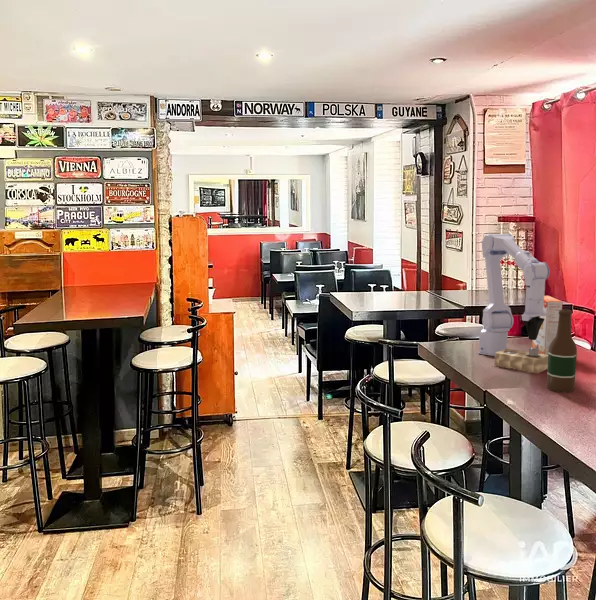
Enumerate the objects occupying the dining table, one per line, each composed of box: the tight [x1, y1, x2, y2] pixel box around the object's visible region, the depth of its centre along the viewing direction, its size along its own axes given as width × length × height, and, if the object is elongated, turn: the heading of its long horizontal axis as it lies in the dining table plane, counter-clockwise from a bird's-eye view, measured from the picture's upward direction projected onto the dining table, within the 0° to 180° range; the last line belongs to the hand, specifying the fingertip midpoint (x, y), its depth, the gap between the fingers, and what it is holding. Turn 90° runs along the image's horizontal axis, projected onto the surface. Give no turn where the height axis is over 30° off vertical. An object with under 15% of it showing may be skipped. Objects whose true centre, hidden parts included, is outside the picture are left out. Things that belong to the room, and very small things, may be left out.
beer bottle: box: [546, 308, 578, 393], centre depth 194 cm, size 8×8×24 cm
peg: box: [528, 347, 539, 358], centre depth 218 cm, size 3×3×4 cm
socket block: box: [494, 348, 548, 374], centre depth 221 cm, size 15×9×4 cm, turn 49°
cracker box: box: [531, 295, 564, 355], centre depth 240 cm, size 14×6×21 cm, turn 178°
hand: (532, 339), depth 218 cm, fingers closed
